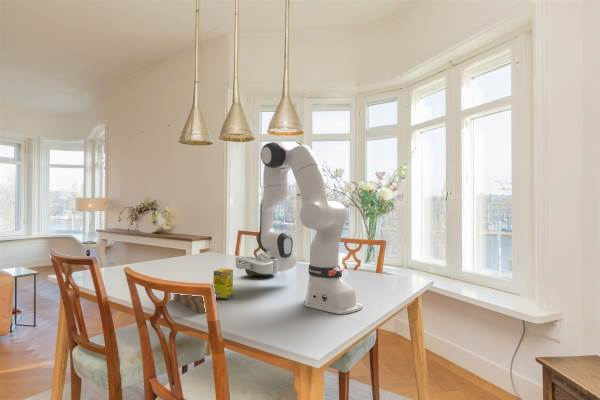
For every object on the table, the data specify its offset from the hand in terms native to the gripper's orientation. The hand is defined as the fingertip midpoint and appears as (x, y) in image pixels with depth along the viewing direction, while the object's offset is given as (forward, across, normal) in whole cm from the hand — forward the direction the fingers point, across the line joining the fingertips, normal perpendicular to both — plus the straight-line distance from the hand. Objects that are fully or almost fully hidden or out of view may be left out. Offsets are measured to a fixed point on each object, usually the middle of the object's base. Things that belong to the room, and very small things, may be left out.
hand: (237, 266), depth 142 cm
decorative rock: (-28, -22, +12) cm, 38 cm away
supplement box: (+7, +1, +12) cm, 14 cm away
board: (+21, +3, +12) cm, 24 cm away
